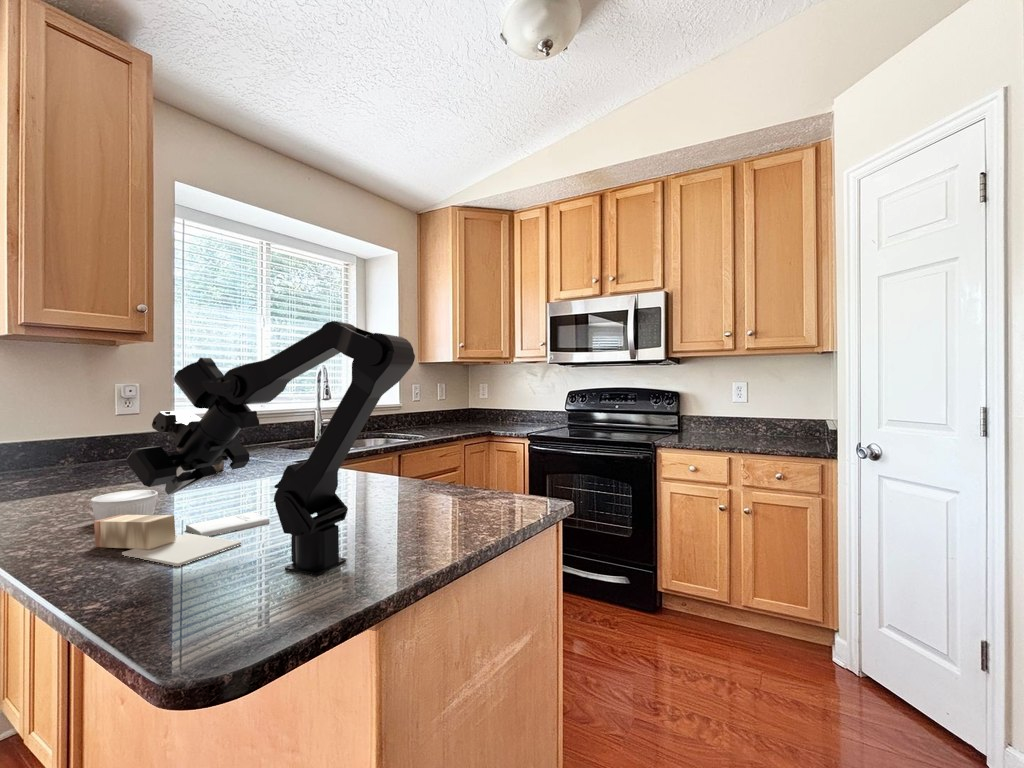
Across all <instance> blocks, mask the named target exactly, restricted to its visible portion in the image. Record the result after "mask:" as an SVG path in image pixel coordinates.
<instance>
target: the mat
mask: <svg viewBox="0 0 1024 768" xmlns="http://www.w3.org/2000/svg"><path fill="white" fill-rule="evenodd" d="M175 539H176V541H174V542H171V543H168V544H165V545H162V546H159V547H155V548H152V549H133V548H131V549H129V550H126V551H122V552H121V556H122V555H124V556H123V557H125V556H129V557H128V558H130V557H135V558H140V559H144V560H150V561H156V562H161V563H166V564H170V565H174V566H180V565H182V564H186V563H188V562H191V561H194V560H197V559H199V558H202V557H205V556H208V555H211V554H214V553H217V552H220V551H222V550H225V549H228V548H231V547H234V546H237V545H240V544H241V545H242V541H236V540H231V539H225V538H219V537H215V536H214V537H213V536H210V537H208V536H202V535H196V534H192V533H190V532H187V533H184V534H179V535H178V536H177V535H176V536H175ZM135 558H134V559H135ZM144 560H143V561H144ZM186 565H187V564H186ZM174 566H173V567H174ZM180 567H181V566H180Z"/></svg>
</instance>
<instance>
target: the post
mask: <svg viewBox="0 0 1024 768" xmlns="http://www.w3.org/2000/svg"><path fill="white" fill-rule="evenodd" d="M93 524H94V525H93V526H94V543H95V544H94V545H95V548H110V549H112V548H114V549H152V548H155V547H159V546H162V545H165V544H168V543H171V542H174V541H176V539H175V537H176V523H175V515H173V514H172V515H171V514H168V515H167V514H165V515H164V514H163V515H162V514H161V515H160V514H153V515H118V516H114V517H110V518H106V519H101V520H97V521H95V520H94V521H93Z"/></svg>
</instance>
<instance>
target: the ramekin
mask: <svg viewBox="0 0 1024 768" xmlns="http://www.w3.org/2000/svg"><path fill="white" fill-rule="evenodd" d="M158 497H159V493H158V491H157V490H154V489H135V490H134V489H133V490H132V489H131V490H122V491H115V492H110V493H105V494H101V495H97V496H95V497H92V498H90V505H91V506H92V507H91V508H92V512H93V516H94V521H97V520H101V519H106V518H110V517H114V516H118V515H154V514H155V513H154V512H155V510H156V509H155V508H156V502H157V498H158Z"/></svg>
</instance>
